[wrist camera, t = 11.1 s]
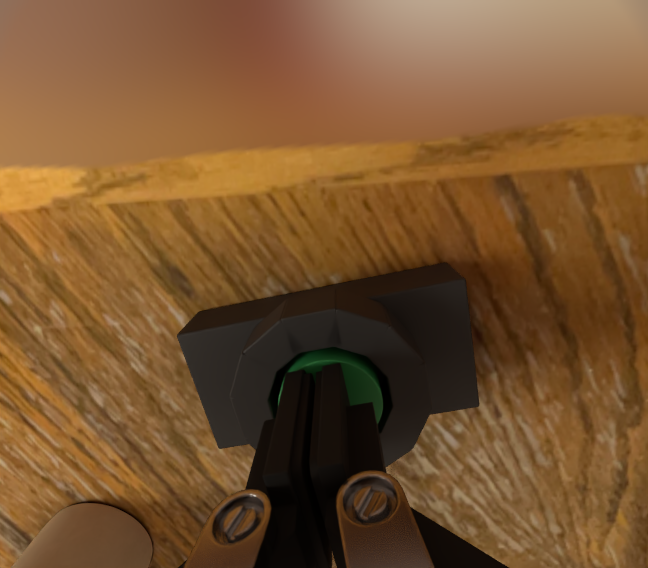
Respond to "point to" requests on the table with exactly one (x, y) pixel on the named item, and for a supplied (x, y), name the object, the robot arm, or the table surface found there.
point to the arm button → (355, 370)
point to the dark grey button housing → (345, 333)
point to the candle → (89, 540)
